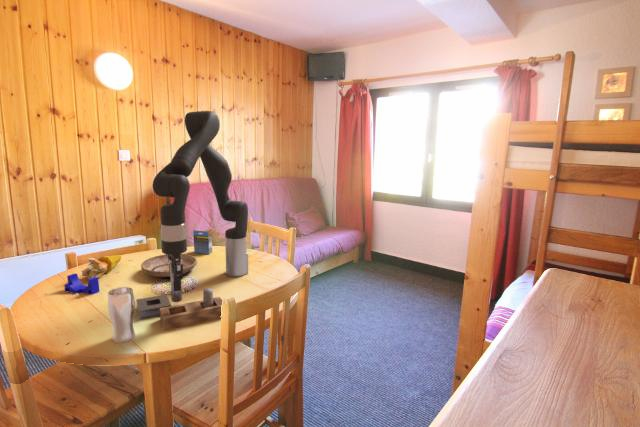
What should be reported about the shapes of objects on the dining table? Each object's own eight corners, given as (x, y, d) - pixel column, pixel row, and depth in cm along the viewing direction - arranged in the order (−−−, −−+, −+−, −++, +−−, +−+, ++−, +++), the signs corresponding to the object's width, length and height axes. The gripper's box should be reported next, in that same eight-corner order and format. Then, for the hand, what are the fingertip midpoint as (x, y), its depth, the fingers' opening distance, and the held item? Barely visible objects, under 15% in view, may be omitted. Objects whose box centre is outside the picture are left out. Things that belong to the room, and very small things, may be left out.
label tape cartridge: (212, 252, 193) (212, 229, 191) (208, 254, 189) (208, 231, 187) (197, 250, 195) (197, 228, 193) (193, 252, 191) (192, 230, 189)
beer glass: (117, 331, 112) (113, 286, 109) (140, 331, 113) (137, 286, 110) (106, 344, 106) (102, 296, 103) (131, 343, 106) (127, 296, 103)
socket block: (166, 301, 134) (166, 294, 133) (171, 313, 125) (171, 305, 125) (136, 307, 129) (136, 299, 128) (139, 319, 120) (138, 311, 120)
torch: (121, 271, 172) (91, 285, 147) (106, 263, 172) (73, 276, 147) (129, 256, 172) (100, 268, 147) (114, 248, 171) (82, 258, 146)
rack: (219, 307, 131) (219, 283, 129) (226, 316, 124) (225, 291, 122) (160, 319, 121) (158, 294, 119) (163, 330, 114) (162, 303, 112)
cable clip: (65, 292, 140) (63, 277, 139) (75, 287, 144) (74, 273, 143) (89, 296, 136) (87, 281, 135) (99, 292, 141) (98, 277, 139)
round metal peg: (181, 297, 121) (179, 266, 118) (182, 301, 118) (181, 269, 116) (170, 299, 119) (169, 267, 117) (172, 303, 116) (170, 270, 114)
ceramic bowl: (129, 276, 157) (128, 265, 156) (169, 260, 178) (169, 250, 177) (170, 285, 149) (169, 274, 148) (207, 268, 170) (207, 257, 169)
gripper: (191, 241, 110) (193, 294, 114) (182, 231, 122) (184, 279, 125) (164, 244, 106) (167, 299, 110) (158, 233, 118) (160, 283, 122)
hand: (176, 288), depth 118 cm, fingers closed on round metal peg, 3 cm apart
